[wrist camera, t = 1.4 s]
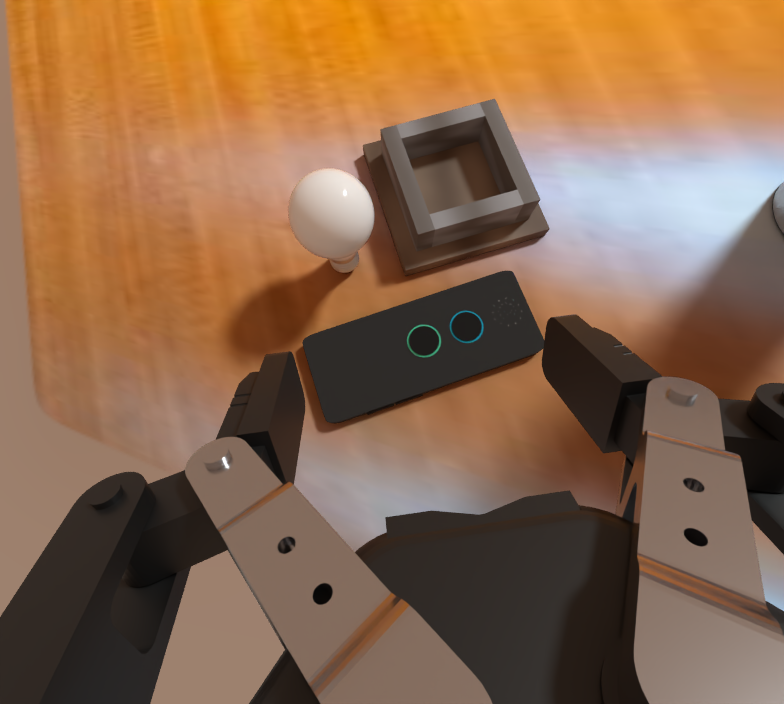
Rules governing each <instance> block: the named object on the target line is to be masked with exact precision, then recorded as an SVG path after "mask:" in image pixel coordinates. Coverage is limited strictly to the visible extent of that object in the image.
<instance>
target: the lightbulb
mask: <svg viewBox="0 0 784 704" xmlns="http://www.w3.org/2000/svg"><path fill="white" fill-rule="evenodd" d="M374 217H375V215H374V206H373V202H372V199H371V197H370V195H369V193H368V191H367V189H366V188H365V186H364V185H363V184H362V183H361V182H360V181H359V180H358V179H357V178H356V177H354V176H353V175H351V174H350V173H348V172H345V171H343V170H339V169H334V168H324V169H319V170H315V171H313V172H311V173H309V174H307V175H306V176H304V177H303V178H302V179H301V180H300V181H299V182H298V183H297V185H296V186H295V188H294V189H293V191H292V193H291V196H290V200H289V205H288V218H289V223H290V226H291V229H292V232H293V234H294V235H295V237H296V239H297V240H298V241H299V243H300V244H301V245H302V246H303V247H304V248H305V249H307V250H308V251H309V252H311V253H312V254H314V255H316V256H319V257H322V258H326V259H329V260H330V263H331V265H332V267H333V268H334V269H335V270H336V271H338V272H341V273H347V272H350V271H352V270H354V269H355V268H356V267H357V265H358V262H359V255H358V251H359V250H360V249H361V248H362V247H363V246H364V245H365V243H366V242H367V241H368V239H369V237H370V235H371V233H372V230H373V226H374Z"/></svg>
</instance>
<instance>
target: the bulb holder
mask: <svg viewBox="0 0 784 704" xmlns="http://www.w3.org/2000/svg"><path fill="white" fill-rule="evenodd" d="M363 151H364V156H365V159H366V162H367V165H368V168H369V171H370V174H371V177H372V180H373V183H374V185H375V188H376V191H377V194H378V197H379V200H380V203H381V206H382V209H383V212H384V215H385V218H386V221H387V224H388V227H389V229H390V232H391V235H392V238H393V241H394V244H395V247H396V250H397V253H398V256H399V259H400V262H401V265H402V268H403V271H404V273H405V276H407V275H411V274H414V273H418V272H421V271H425V270H428V269H431V268H435V267H438V266H442V265H445V264H449V263H452V262H455V261H459V260H462V259H466V258H469V257H473V256H476V255H479V254H483V253H486V252H490V251H493V250H497V249H500V248H503V247H507V246H510V245H514V244H517V243H521V242H524V241H527V240H531V239H534V238H538V237H541V236H545V234H546V233H547V232H548V230H549V226H548V224H547V222H546V220H545V217H544V215H543V213H542V211H541V208H540V206H539V204H538V202H539V201H540V198H539V196H538V193H537V191H536V189H535V187H534V185H533V182H532V180H531V178H530V176H529V173H528V171H527V169H526V167H525V165H524V162H523V160H522V158H521V156H520V153H519V151H518V149H517V147H516V145H515V142H514V140H513V138H512V136H511V133H510V131H509V129H508V127H507V124H506V122H505V120H504V118H503V116H502V113H501V111H500V109H499V107H498V104H497V102H496V100H495V99H492V100H488V101H485V102H481V103H477V104H473V105H470V106H466V107H462V108H459V109H455V110H451V111H447V112H444V113H440V114H436V115H432V116H429V117H425V118H421V119H417V120H414V121H410V122H406V123H403V124H399V125H395V126H391V127H388V128H384V129H381V140H380V141H377V142H373V143H369V144H365V145H363Z"/></svg>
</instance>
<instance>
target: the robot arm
mask: <svg viewBox="0 0 784 704" xmlns="http://www.w3.org/2000/svg"><path fill="white" fill-rule="evenodd" d="M773 211H774V216H775V219H776V221H777V224H778V226H779V228H780V229H781V230H782V232H783V233H784V182H783V183H782V184H781V185H780V186H779V188H778V190H777V191H776V193H775V196H774V200H773ZM542 368H543V372H544V375H545V377H546V379H547V380H548V382H549V383H550V384H551V386H552V387H553V388H554V389H555V391H556V392H557V393H558V395H559V396H560V397H561V399H562V400H563V401H564V403H565V404H566V405H567V406H568V408H569V409H570V410H571V412H572V413H573V414H574V416H575V417H576V418H577V419H578V421H579V422H580V423H581V425H582V426H583V427H584V429H585V430H586V431H587V432H588V434H589V435H590V436H591V438H592V439H593V440H594V442H595V443H596V444H597V446H598V447H599V448H600V449H601V451H602V452H603V453H609V452H616V451H623V453H624V454H625V458H624V461H623V465H622V471H621V478H620V485H619V492H618V499H617V506H616V512H615V514H612V513H610V512H607V511H603V510H600V509H596V508H592V507H586V506H580V505H578V504H577V502H576V501H575V499H574V497H573V496H572V494H571V492H570V491H563V492H556V493H549V494H542V495H536V496H529V497H524V498H521V499H519V500H517V501H514V502H512V503H510V504H507V505H505V506H502V507H500V508H498V509H495V510H493V511H491V512H488V513H486V514H481V515H475V514H463V513H451V512H440V511H426V512H420V513H413V514H406V515H399V516H392V517H386V528H387V533H384V534H382V535H380V536H378V537H376V538H374V539H372V540H371V541H369V542H367V543H366V544H365V545H363V546H362V547H361V548H359V549H358V550H357V551H356V552H354V551H353V550H352V549H351V548H350V547H349V546H348V544H347V543H346V542H345V541H344V540H343V539H342V538H341V537H340V536H339V534H338V533H337V532H336V531H335V530H334V529H333V528H332V527H331V526H330V524H329V523H328V522H327V521H326V520H325V519H324V518H323V517H322V516H321V514H320V513H319V512H318V511H317V510H316V509H315V508H314V507H313V506H312V505H311V503H310V502H309V501H308V500H307V499H306V498H305V497H304V496H303V495H302V493H301V492H300V491H299V490H298V489H297V488H296V487H295V486H294V479H295V473H296V466H297V460H298V453H299V447H300V440H301V434H302V427H303V421H304V414H305V398H304V392H303V389H302V385H301V381H300V378H299V374H298V370H297V367H296V363H295V360H294V356H293V354H292V352H290V351H289V352H281V353H274V354H267V355H265V357H264V360H263V363H262V365H261V368H260V371H259V372H252V373H250V374H249V375H248V376H246V377H245V378H244V379H243V380H242V381H241V382H240V383H239V385H238V388H237V390H236V392H235V395H234V398H233V400H232V402H231V404H230V408H229V409H228V411H227V414H226V416H225V418H224V421H223V423H222V426H221V428H220V430H219V433H218V435H217V437H216V440H214V441H212V442H210V443H207V444H206V445H204V446H202V447H201V448H200V449H198V450H197V451H196V452H195V453H194V454H193V455H192V456H191V457H190V459H189V460H188V462H187V464H186V468H185V470H184V471H182V472H179V473H177V474H174V475H171V476H169V477H166V478H164V479H161V480H158V481H155V482H153V483H150V484H148V483H147V482H146V480H145V479H144V477H143V476H142V475H141V474H139V473H136V472H124V473H120V474H116V475H113V476H110V477H108V478H106V479H104V480H102V481H100V482H98V483H97V484H95V485H94V486H92V487H91V488H90V489H88V490H87V491H86V492H85V493H84V494H82V496H81V497H80V498H79V499H78V500H77V501H76V503H75V504H74V505H73V507H72V508H71V510H70V512H69V513H68V514H67V516H66V518H65V519H64V521H63V522H62V524H61V525H60V527H59V528H58V530H57V531H56V533H55V534H54V536H53V537H52V539H51V540H50V542H49V543H48V545H47V546H46V548H45V550H44V551H43V553H42V554H41V556H40V557H39V559H38V560H37V562H36V563H35V565H34V566H33V568H32V569H31V571H30V572H29V574H28V575H27V577H26V579H25V580H24V582H23V583H22V585H21V586H20V588H19V589H18V591H17V592H16V594H15V595H14V597H13V598H12V600H11V601H10V603H9V605H8V606H7V607H6V609H5V611H4V612H3V614H2V615H1V617H0V704H150V702H151V699H152V696H153V692H154V689H155V685H156V682H157V679H158V675H159V672H160V669H161V665H162V662H163V659H164V655H165V652H166V649H167V645H168V642H169V639H170V635H171V632H172V628H173V625H174V622H175V618H176V615H177V612H178V608H179V605H180V602H181V598H182V595H183V592H184V588H185V585H186V581H187V578H188V574H189V571H190V568H191V566H193V565H195V564H197V563H199V562H202V561H204V560H206V559H208V558H211V557H213V556H215V555H217V554H220V553H222V552H224V551H226V550H228V551H229V553H230V555H231V557H232V559H233V560H234V562H235V564H236V565H237V567H238V569H239V570H240V572H241V574H242V576H243V578H244V579H245V581H246V583H247V584H248V586H249V588H250V590H251V591H252V593H253V595H254V596H255V598H256V600H257V602H258V603H259V605H260V607H261V609H262V610H263V612H264V613H265V616H266V617H267V619H268V621H269V622H270V624H271V626H272V628H273V630H274V631H275V633H276V635H277V636H278V638H279V640H280V642H281V644H282V645H283V647H284V649H285V651H284V652H283V654H282V655H281V657H280V658H279V660H278V661H277V663H276V664H275V666H274V667H273V669H272V670H271V672H270V673H269V675H268V676H267V678H266V679H265V681H264V682H263V684H262V685H261V687H260V688H259V690H258V691H257V693H256V694H255V696H254V697H253V699H252V700H251V702H250V703H249V704H784V611H782V610H781V609H779V608H777V607H775V606H774V605H772V604H770V603H769V602H767V601H765V597H764V591H763V585H762V579H761V573H760V567H759V561H758V555H757V549H756V543H755V537H754V531H753V525H752V521H753V522H754V523H755V524H756V525H757V526H758V527H759V529H760V530H761V531H762V532H763V533H764V534H765V535H766V536H767V537H768V538H769V539H770V540H771V541H772V542H773V543H774V545H775V546H776V547H777V548H778V549H779V550H780V551H781V552H782V553H783V554H784V384H783V383H769V384H764V385H761V386H759V387H758V388H757V389H756V391H755V393H754V395H753V397H752V399H751V401H744V400H730V399H718V398H717V396H716V395H715V394H714V393H713V392H712V391H711V390H709V389H708V388H706V387H705V386H703V385H701V384H699V383H696V382H694V381H691V380H688V379H683V378H678V377H663V376H661V375H660V374H659V373H658V372H656V371H655V370H654V369H653V368H651V367H650V366H649V365H648V364H647V363H645V362H644V361H643V360H642V359H640V358H639V357H638V356H637V355H635V354H634V353H633V354H632V351H631V350H629V349H628V348H627V347H626V346H622V343H621V342H619V341H618V340H617V339H616V338H615V337H613V336H612V335H611V334H608V333H606V332H604V331H601V330H599V329H597V328H595V327H594V328H592V327H591V326H590V325H588V324H587V323H586V322H585V321H584V320H583V319H581V318H580V317H579V316H578V315H566V316H559V317H552V318H550V319H549V320H548V322H547V326H546V333H545V341H544V349H543V356H542Z"/></svg>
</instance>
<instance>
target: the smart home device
mask: <svg viewBox="0 0 784 704" xmlns="http://www.w3.org/2000/svg"><path fill="white" fill-rule="evenodd" d="M303 347H304V351H305V354H306V357H307V361H308V364H309V367H310V371H311V374H312V377H313V380H314V384H315V387H316V390H317V394H318V397H319V400H320V404H321V407H322V410H323V414H324V417H325V419H326V421H327V422H330V423H340V422H343V421H346V420H349V419H352V418H355V417H358V416H361V415H364V414H366V413H367V414H371V413H374V412H377V411H380V410H382V409H385V408H388V407H391V406H394V404H396V405H397V404H400V403H402V402H405V401H408V400H411V399H414V398H417V397H420V396H422V395H423V394H424V393H426V392H429V391H432V390H435V389H438V388H441V387H444V386H446V385H449V384H452V383H455V382H458V381H461V380H464V379H467V378H469V377H472V376H475V375H478V374H481V373H484V372H487V371H489V370H492V369H495V368H498V367H501V366H504V365H507V364H509V363H512V362H515V361H518V360H521V359H524V358H527V357H529V356H532V355H534V354H536V353H538V352H539V351H541V350H542V349H543V348H544V339H543V337H542V334H541V332H540V330H539V328H538V326H537V323H536V321H535V319H534V317H533V315H532V312H531V310H530V308H529V306H528V304H527V302H526V299H525V297H524V295H523V293H522V291H521V288H520V286H519V284H518V282H517V280H516V277H515V275H514V273H513V272H512V271H502V272H498V273H495V274H492V275H489V276H486V277H483V278H480V279H477V280H474V281H471V282H468V283H465V284H462V285H459V286H456V287H453V288H450V289H447V290H444V291H441V292H438V293H435V294H432V295H429V296H426V297H423V298H420V299H417V300H414V301H411V302H408V303H405V304H402V305H399V306H396V307H393V308H390V309H387V310H384V311H381V312H378V313H375V314H372V315H369V316H366V317H363V318H360V319H357V320H354V321H351V322H348V323H345V324H342V325H339V326H336V327H333V328H330V329H327V330H324V331H321V332H318V333H315V334H312V335H310V336H308V337H307V338H305V339H304V340H303Z"/></svg>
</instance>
